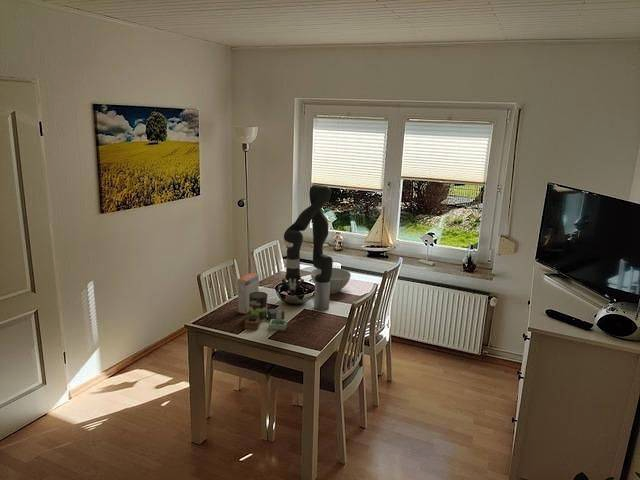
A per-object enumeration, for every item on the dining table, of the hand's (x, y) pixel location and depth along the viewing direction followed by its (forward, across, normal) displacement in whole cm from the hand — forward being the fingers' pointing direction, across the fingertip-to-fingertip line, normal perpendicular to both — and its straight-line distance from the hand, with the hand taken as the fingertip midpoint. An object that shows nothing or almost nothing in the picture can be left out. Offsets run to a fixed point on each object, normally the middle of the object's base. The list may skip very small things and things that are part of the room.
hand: (292, 295), depth 259 cm
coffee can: (+15, +20, -1) cm, 25 cm away
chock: (+16, +10, -3) cm, 19 cm away
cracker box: (+16, +28, -12) cm, 34 cm away
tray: (+15, +7, +10) cm, 19 cm away
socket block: (+15, +21, +11) cm, 28 cm away
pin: (+14, +7, +10) cm, 19 cm away
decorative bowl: (+17, -19, -52) cm, 58 cm away
